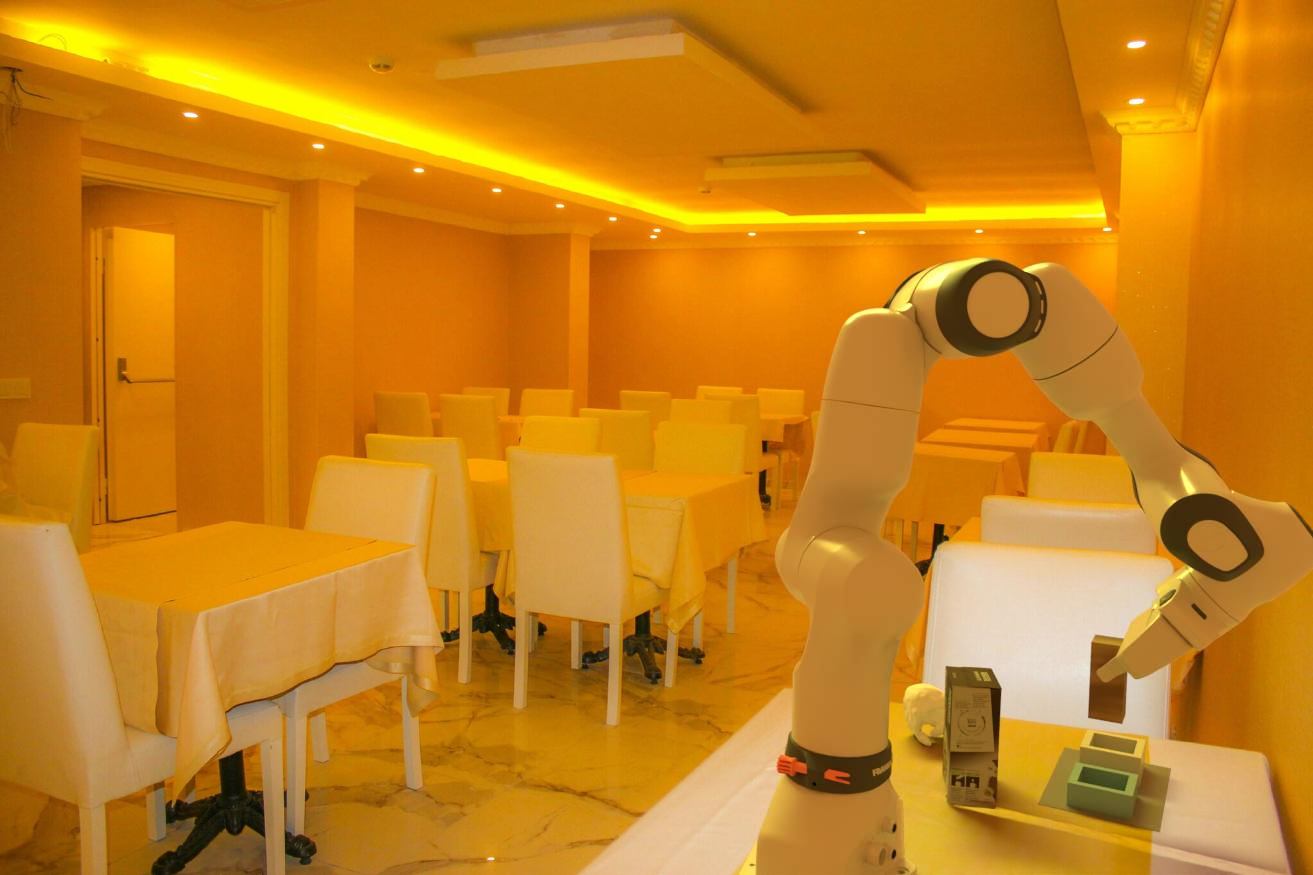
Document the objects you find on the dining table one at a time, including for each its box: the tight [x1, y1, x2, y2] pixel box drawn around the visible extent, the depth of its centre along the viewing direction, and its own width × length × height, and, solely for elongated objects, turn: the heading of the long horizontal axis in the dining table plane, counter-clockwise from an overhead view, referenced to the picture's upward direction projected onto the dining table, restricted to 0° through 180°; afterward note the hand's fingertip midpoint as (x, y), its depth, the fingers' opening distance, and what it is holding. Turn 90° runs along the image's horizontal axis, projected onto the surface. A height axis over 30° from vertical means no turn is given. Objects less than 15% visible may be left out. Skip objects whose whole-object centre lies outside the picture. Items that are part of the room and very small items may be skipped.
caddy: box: [1037, 728, 1171, 833], centre depth 132 cm, size 22×14×5 cm, turn 149°
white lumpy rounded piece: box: [902, 683, 945, 747], centre depth 150 cm, size 6×8×12 cm
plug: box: [1087, 634, 1128, 725], centre depth 126 cm, size 4×4×10 cm
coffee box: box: [941, 665, 1003, 810], centre depth 131 cm, size 9×6×16 cm
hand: (1103, 671), depth 127 cm, fingers closed on plug, 4 cm apart
